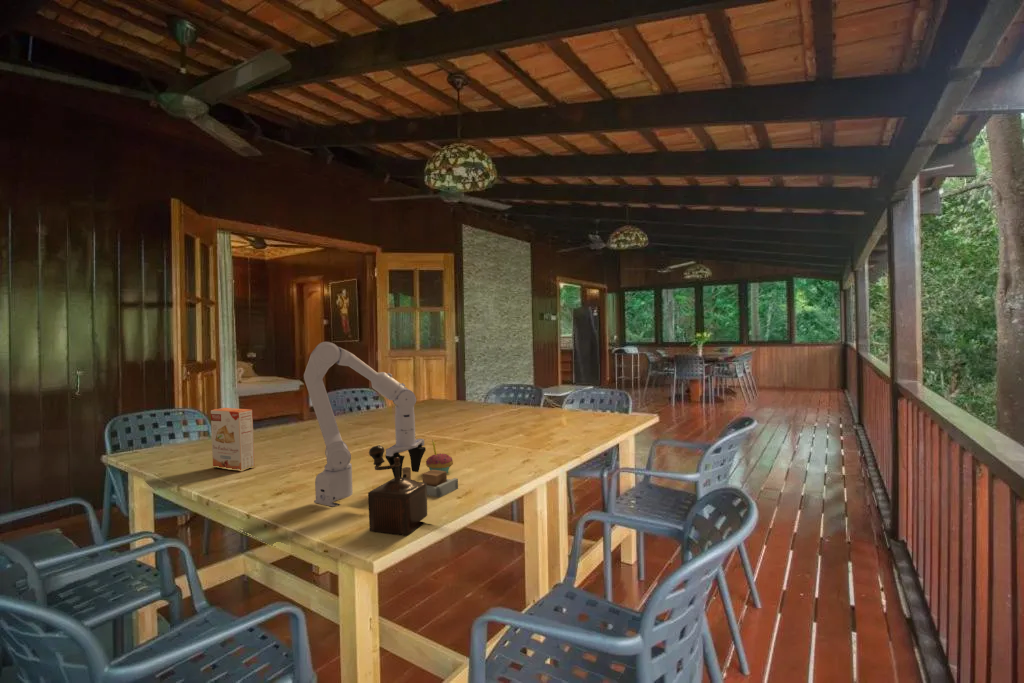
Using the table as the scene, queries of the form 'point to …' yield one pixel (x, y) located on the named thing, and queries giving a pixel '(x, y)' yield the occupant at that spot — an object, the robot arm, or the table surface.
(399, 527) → the manual coffee grinder
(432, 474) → the block
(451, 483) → the lane shelf
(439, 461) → the cupcake
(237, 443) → the cracker box
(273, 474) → the table surface
